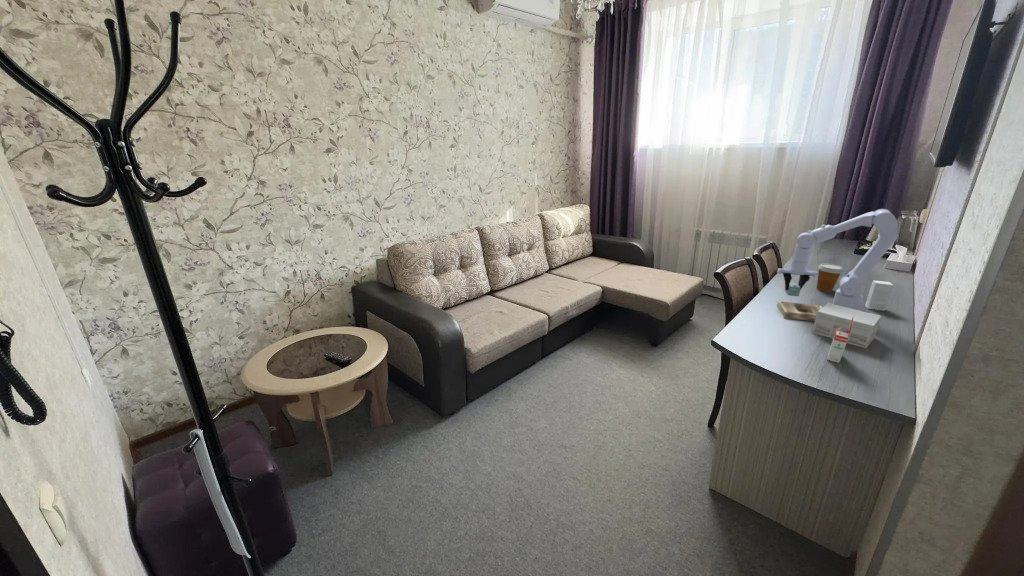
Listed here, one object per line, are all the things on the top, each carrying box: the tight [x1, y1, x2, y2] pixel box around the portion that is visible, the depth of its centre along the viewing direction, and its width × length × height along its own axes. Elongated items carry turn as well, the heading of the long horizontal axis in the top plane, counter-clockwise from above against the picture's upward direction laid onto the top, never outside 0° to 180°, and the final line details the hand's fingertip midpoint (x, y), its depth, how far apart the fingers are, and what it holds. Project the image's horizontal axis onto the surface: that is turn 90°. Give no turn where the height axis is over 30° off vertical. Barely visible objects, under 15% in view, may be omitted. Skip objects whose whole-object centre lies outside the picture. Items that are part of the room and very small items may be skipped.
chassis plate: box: [776, 300, 823, 322], centre depth 173 cm, size 16×12×3 cm
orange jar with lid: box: [816, 263, 844, 293], centre depth 199 cm, size 10×10×12 cm
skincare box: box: [864, 279, 894, 311], centre depth 178 cm, size 6×4×12 cm
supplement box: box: [811, 302, 882, 349], centre depth 155 cm, size 17×13×9 cm
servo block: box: [784, 282, 802, 297], centre depth 182 cm, size 4×9×5 cm, turn 161°
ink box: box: [826, 318, 853, 364], centre depth 138 cm, size 4×8×15 cm, turn 140°
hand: (792, 290), depth 183 cm, fingers closed on servo block, 4 cm apart
